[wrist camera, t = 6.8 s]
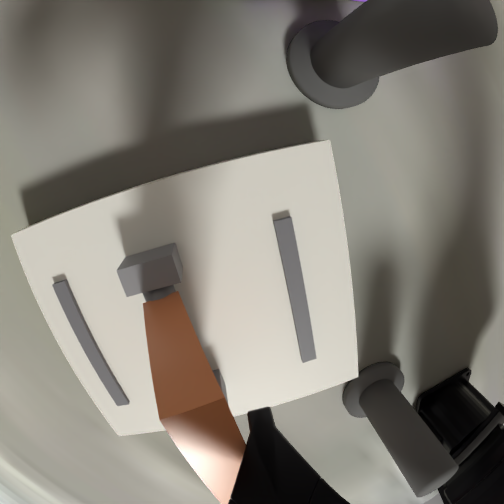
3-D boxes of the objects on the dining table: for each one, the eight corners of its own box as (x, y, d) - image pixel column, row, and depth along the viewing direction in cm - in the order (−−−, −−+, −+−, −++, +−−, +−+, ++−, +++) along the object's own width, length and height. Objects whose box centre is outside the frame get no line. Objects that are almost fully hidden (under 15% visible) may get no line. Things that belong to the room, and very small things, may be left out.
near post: (359, 25, 13) (480, -44, 4) (380, 104, 15) (529, 85, 6) (276, 28, 13) (364, -86, 4) (299, 114, 15) (430, 73, 5)
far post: (400, 352, 21) (481, 440, 11) (397, 396, 22) (459, 478, 13) (340, 377, 20) (408, 486, 11) (343, 419, 22) (396, 514, 12)
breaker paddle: (172, 275, 14) (221, 388, 6) (208, 370, 16) (269, 493, 8) (139, 287, 13) (154, 411, 6) (180, 380, 15) (226, 509, 8)
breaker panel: (314, 141, 15) (347, 138, 12) (346, 359, 20) (370, 394, 16) (28, 225, 14) (-8, 245, 10) (122, 415, 18) (114, 456, 15)
